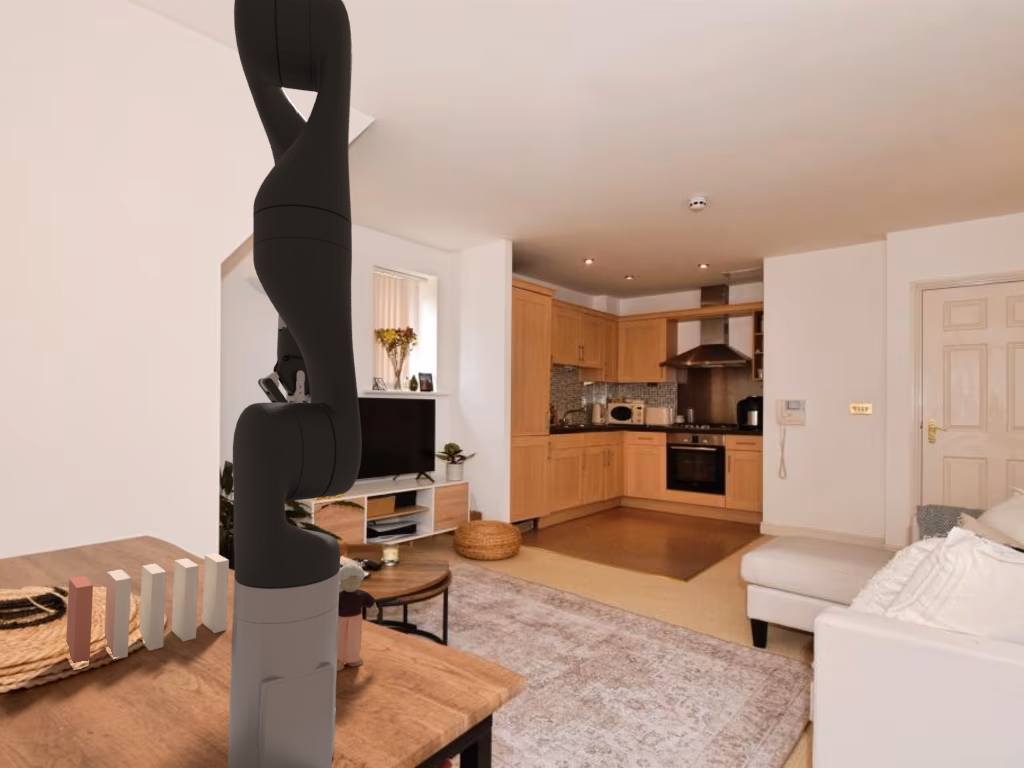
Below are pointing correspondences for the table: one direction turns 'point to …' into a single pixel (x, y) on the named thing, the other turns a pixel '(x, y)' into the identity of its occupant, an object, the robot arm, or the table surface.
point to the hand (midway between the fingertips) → (300, 441)
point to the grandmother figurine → (351, 615)
